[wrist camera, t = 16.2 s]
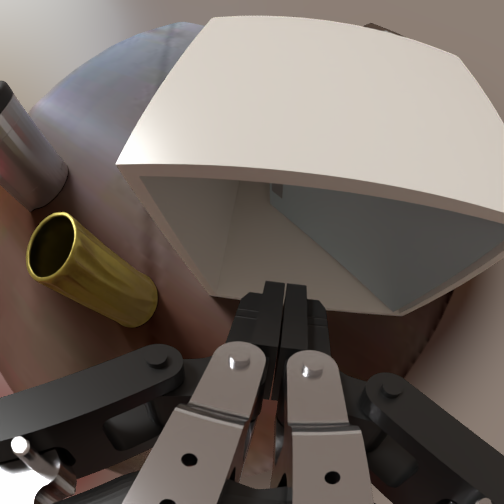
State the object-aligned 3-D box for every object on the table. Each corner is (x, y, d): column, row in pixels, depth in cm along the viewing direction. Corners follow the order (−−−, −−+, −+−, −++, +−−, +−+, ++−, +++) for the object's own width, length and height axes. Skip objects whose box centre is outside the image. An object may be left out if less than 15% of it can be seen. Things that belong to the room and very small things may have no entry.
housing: (418, 317, 26) (562, 233, 8) (209, 295, 28) (115, 164, 10) (408, 191, 32) (476, 65, 14) (237, 169, 35) (212, 17, 16)
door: (392, 312, 25) (515, 231, 9) (269, 203, 31) (265, 56, 15) (397, 306, 26) (518, 221, 9) (275, 199, 31) (274, 52, 15)
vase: (132, 263, 30) (58, 193, 17) (169, 294, 29) (98, 231, 16) (100, 304, 29) (12, 256, 16) (135, 339, 27) (43, 307, 14)
